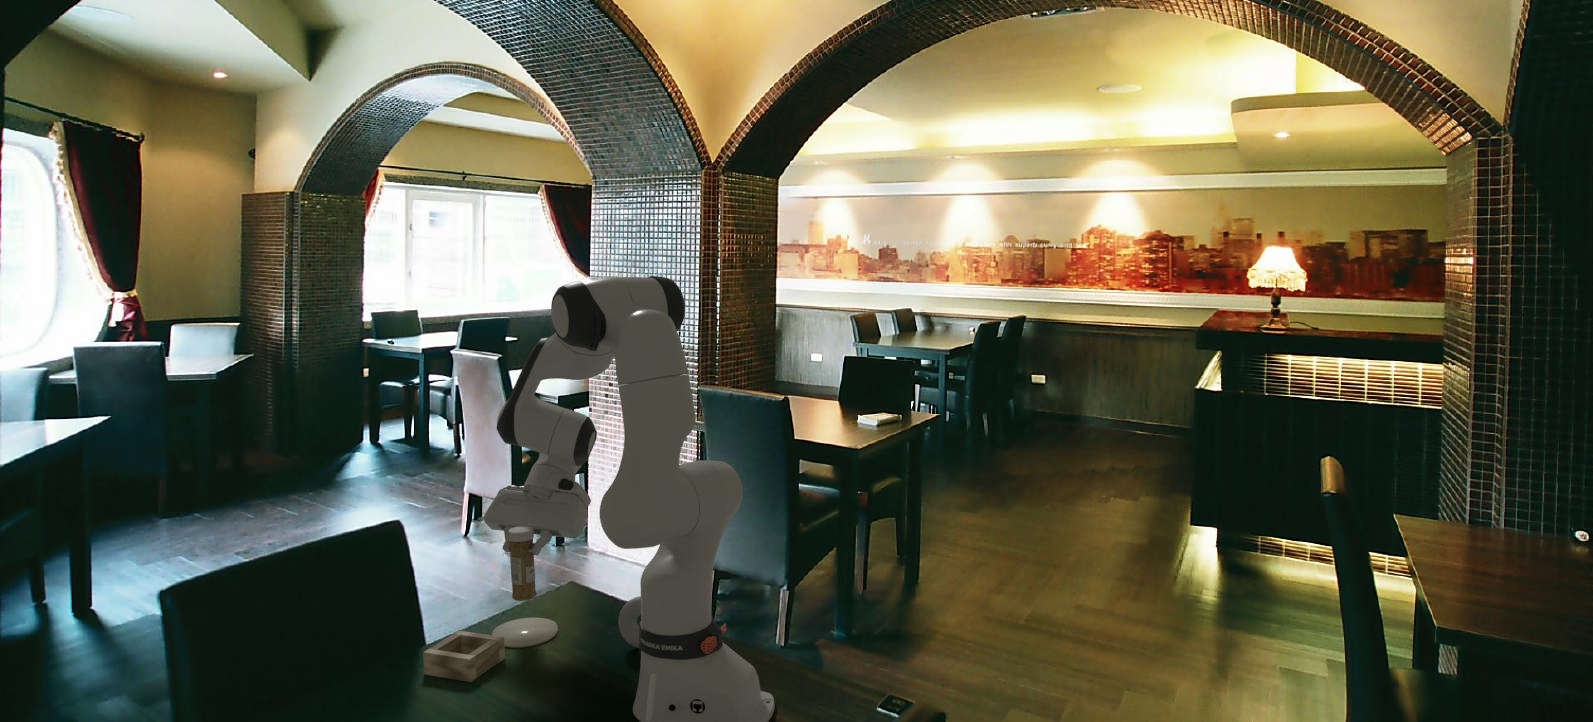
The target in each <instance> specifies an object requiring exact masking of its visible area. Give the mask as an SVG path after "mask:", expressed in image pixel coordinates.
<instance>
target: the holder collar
mask: <svg viewBox="0 0 1593 722" xmlns="http://www.w3.org/2000/svg"><path fill="white" fill-rule="evenodd" d="M505 652H506V651H505V647H504V637H500V636H493V635H492V634H486V633H477V632H472V631H466V630H458V631H456V632H454V633H453V634H451V635H449V636H448V637H446V638H445V639H443V640H441V641H439V642H438V643H436V644H435V645H433V646H431V647H429V648H428V649H426V650H424V651H423V652H422V654H423V656H422V657H423V673H424V675H425V676H433V677H439V678H445V679H450V680H457V681H464V682H468V683H471V682H474V681H475V680H476V679H478V678H479V677H481V676H482V675H483V674H485V673H486V672H488V671H489V670H490V669H492V668H493V667H495V666H496V665H497V664H500V663H501V662H502V661H503V660H505V659H506V655H505V654H506V653H505ZM487 670H488V671H487Z"/></svg>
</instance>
